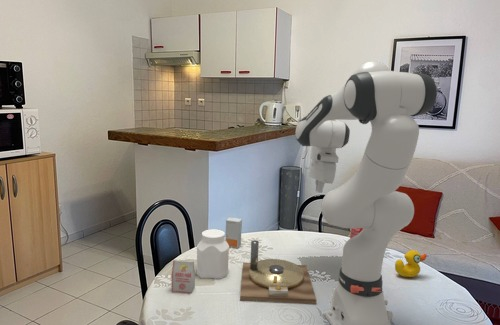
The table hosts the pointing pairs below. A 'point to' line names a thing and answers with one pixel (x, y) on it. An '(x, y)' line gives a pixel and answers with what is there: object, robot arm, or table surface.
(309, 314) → the table surface
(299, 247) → the table surface
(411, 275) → the duckling
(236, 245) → the skincare box
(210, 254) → the jar
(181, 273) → the small printed food carton
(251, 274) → the crank wheel
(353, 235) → the soda can
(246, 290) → the wooden wheel stand
